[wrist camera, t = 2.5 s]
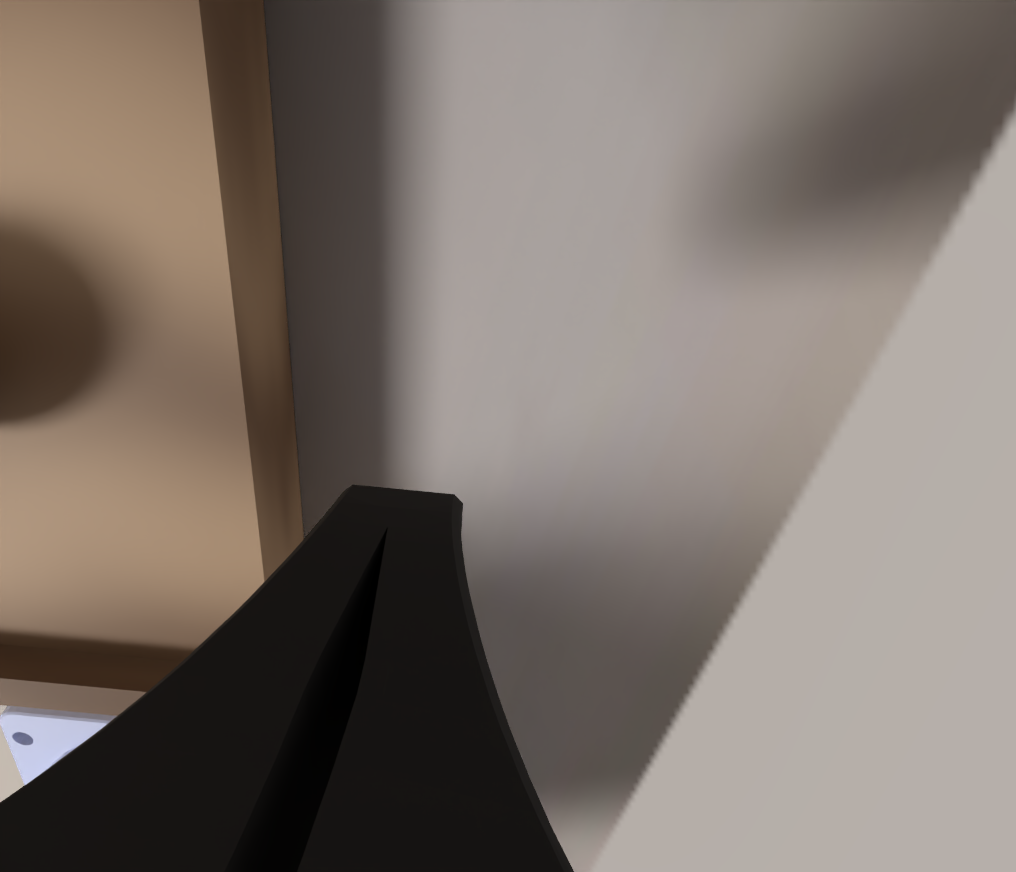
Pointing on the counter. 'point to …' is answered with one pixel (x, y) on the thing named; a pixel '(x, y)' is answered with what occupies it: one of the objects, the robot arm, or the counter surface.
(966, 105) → the counter surface
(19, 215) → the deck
